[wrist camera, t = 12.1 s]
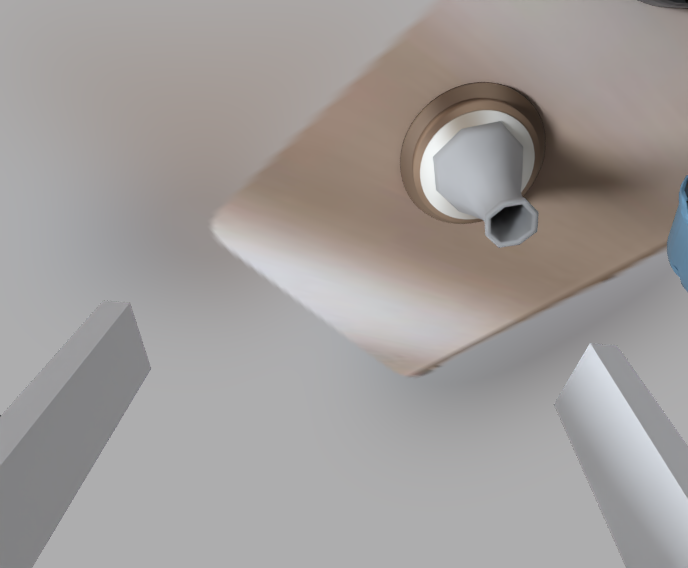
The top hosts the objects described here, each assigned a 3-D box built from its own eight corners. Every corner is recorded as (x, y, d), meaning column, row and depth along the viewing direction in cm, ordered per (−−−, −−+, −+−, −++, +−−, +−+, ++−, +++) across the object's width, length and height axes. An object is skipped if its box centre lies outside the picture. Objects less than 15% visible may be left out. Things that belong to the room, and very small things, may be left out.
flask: (535, 184, 33) (588, 245, 25) (452, 222, 35) (475, 289, 27) (507, 102, 30) (558, 142, 21) (417, 151, 32) (432, 203, 24)
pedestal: (497, 45, 30) (507, 49, 28) (567, 166, 35) (580, 178, 32) (372, 150, 35) (372, 160, 33) (448, 243, 40) (452, 257, 38)
